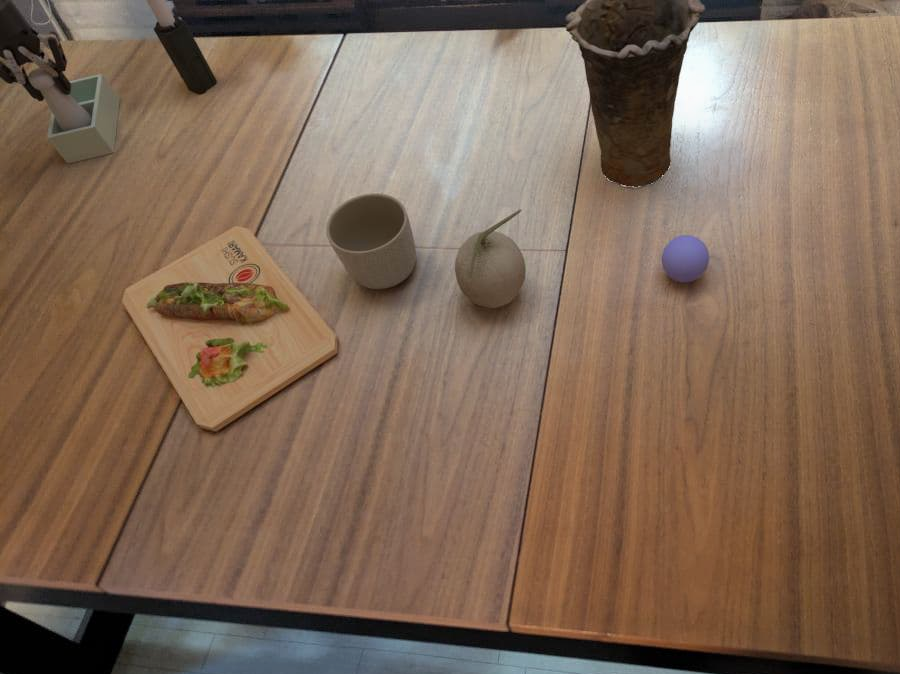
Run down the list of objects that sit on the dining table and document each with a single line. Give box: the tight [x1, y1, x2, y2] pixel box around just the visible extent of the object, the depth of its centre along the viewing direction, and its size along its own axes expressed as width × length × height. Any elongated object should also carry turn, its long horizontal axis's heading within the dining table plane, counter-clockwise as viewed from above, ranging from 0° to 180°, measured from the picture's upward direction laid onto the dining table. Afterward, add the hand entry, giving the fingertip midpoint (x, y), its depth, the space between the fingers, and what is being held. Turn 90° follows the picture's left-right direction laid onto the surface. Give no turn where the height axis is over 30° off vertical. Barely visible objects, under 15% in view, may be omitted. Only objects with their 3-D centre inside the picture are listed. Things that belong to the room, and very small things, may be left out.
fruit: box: [454, 208, 527, 309], centre depth 104 cm, size 10×12×15 cm
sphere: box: [661, 234, 710, 283], centre depth 106 cm, size 7×7×7 cm
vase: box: [564, 0, 706, 187], centre depth 112 cm, size 18×18×27 cm
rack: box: [46, 73, 121, 165], centre depth 140 cm, size 9×17×6 cm, turn 14°
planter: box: [325, 192, 417, 290], centre depth 111 cm, size 12×12×11 cm
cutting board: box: [121, 225, 339, 433], centre depth 109 cm, size 35×23×8 cm
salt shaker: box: [27, 66, 92, 132], centre depth 132 cm, size 6×6×13 cm
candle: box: [145, 0, 218, 95], centre depth 136 cm, size 5×5×25 cm
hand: (54, 95), depth 131 cm, fingers closed on salt shaker, 4 cm apart
